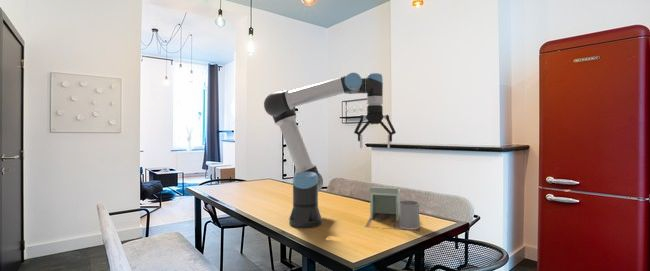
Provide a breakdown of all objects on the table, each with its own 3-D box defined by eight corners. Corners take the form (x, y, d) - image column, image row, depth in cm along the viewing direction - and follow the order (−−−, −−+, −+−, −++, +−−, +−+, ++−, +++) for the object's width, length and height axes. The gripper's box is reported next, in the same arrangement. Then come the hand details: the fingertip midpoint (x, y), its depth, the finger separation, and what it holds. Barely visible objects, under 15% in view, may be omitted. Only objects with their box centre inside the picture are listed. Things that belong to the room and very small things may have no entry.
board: (365, 230, 139) (365, 226, 139) (372, 215, 164) (372, 212, 164) (420, 234, 133) (420, 231, 133) (419, 218, 158) (419, 215, 158)
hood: (370, 218, 152) (370, 187, 151) (373, 212, 164) (373, 183, 163) (398, 220, 148) (398, 188, 148) (399, 214, 160) (399, 184, 160)
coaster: (398, 228, 137) (398, 227, 137) (399, 222, 145) (399, 221, 145) (419, 230, 135) (419, 229, 135) (419, 224, 143) (419, 223, 143)
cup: (419, 228, 135) (419, 205, 135) (399, 227, 137) (399, 204, 136) (418, 223, 143) (418, 201, 143) (399, 222, 145) (399, 200, 145)
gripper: (348, 105, 158) (348, 148, 158) (400, 104, 151) (400, 148, 151) (351, 106, 165) (351, 147, 165) (401, 105, 158) (400, 148, 159)
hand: (374, 148), depth 158 cm, fingers open, 13 cm apart
